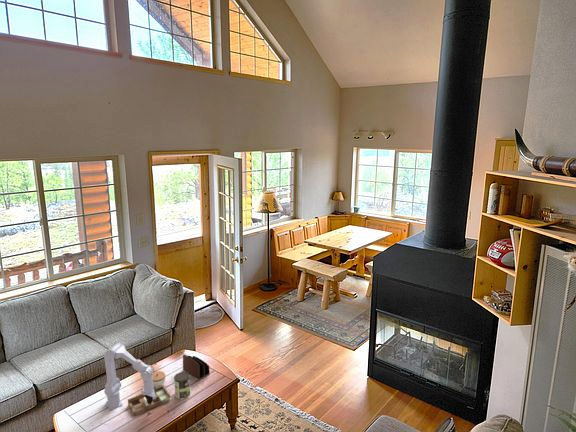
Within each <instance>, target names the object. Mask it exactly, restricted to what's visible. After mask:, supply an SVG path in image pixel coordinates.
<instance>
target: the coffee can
mask: <svg viewBox="0 0 576 432" xmlns="http://www.w3.org/2000/svg"><path fill="white" fill-rule="evenodd" d="M190 376H191V375H190V374H189V373H187V372H186V371H181V372H178V373H176V374H174V377H173V380H174V381H173V383H174V397H175V399H178V400H184V399H187V398H189V396H190V395H191V382H190V378H191V377H190Z"/></svg>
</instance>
